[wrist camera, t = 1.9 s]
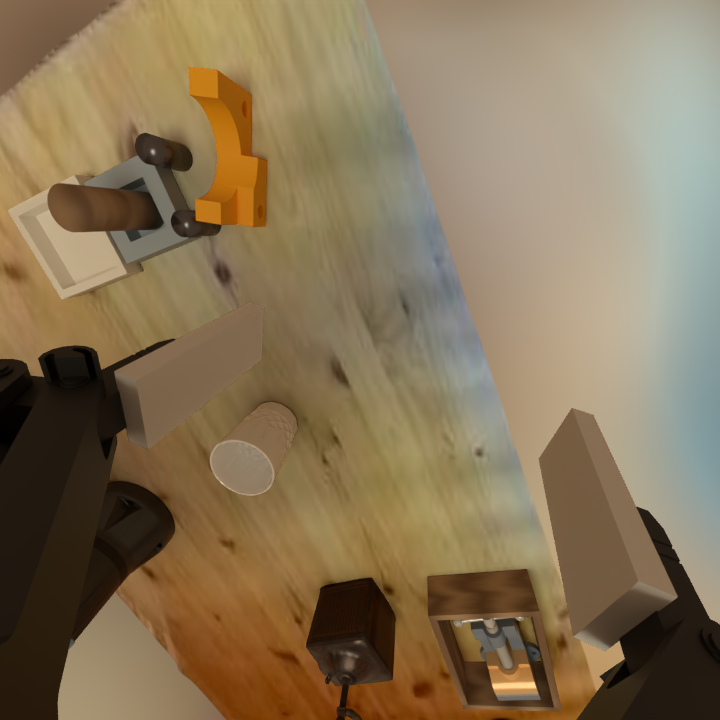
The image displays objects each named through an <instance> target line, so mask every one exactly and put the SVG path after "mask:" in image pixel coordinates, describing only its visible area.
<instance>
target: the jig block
mask: <svg viewBox="0 0 720 720" xmlns="http://www.w3.org/2000/svg"><path fill="white" fill-rule="evenodd" d="M84 184H85V186H93V187H103V188H112V189H122V190H131V191H141V192H149V193H150V194H151V196H152V198H153V200H154V202H155V204H156V206H157V208H158V210H159V212H160V215H161V217H162V219H163V221H164V224H163V225H162V226H161V227H160V228H159V229H156V230H133V231H110V233H111V235H112V237H113V239H114V241H115V242H116V244H117V246H118V248H119V250H120V252H121V254H122V256H123V257H124V259H125V261H126V263H127V264H128V263H135V262H142V261H145V260H147V259H150V258H152V257H155V256H157V255H160V254H162V253H165V252H167V251H169V250H172V249H174V248H177V247H179V246H182V245H184V244H187V243H189V242H192V241H194V240H196V239H199V238H201V236H199V237H181V236H179V235H178V234H176V233H175V231H174V230H173V228H172V225H171V217H172V214H173V213H174V212H175V211H177V210H189V209H188V207H187V204H186V202H185V200H184V198H183V196H182V193H181V191H180V189H179V187H178V185H177V182H176V180H175V178H174V176H173V174H172V171H171V169H168V168H163V167H159V166H154V165H149V164H146V163H144V162H143V161H142V160H141V159H140V158H139V156H138V155H137V156H135V157H133V158H131V159H129V160H127V161H125V162H123V163H121V164H119V165H117V166H116V167H114V168H112V169H110V170H108V171H106V172H104V173H102V174H100V175H98V176H96V177H94V178H92V179H90V180H88V181H86V182H85V183H84Z"/></svg>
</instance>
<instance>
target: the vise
mask: <svg viewBox="0 0 720 720" xmlns="http://www.w3.org/2000/svg"><path fill="white" fill-rule="evenodd" d="M524 619H525V617H511V618H485V619H459V620H453V623H454V625H455V626H456V627H461V626H462V625H463V623H467V622H470V623H471V630H472V632H473V634H474V637H475V639H476V640H478V639H479V640H480V642H481V644H482V647H481V649H480V652H481V657H482V658H483V659H484V660H485V661H487V667H488V669H489V674H490V678H491V682H492V686H493V690H494V692H495V694H496V696H497V698H498V700H499V701H514V700H541V694H540V690H539V686H538V682H537V678H536V674H535V670H534V666H533V662H534V661H535V660H537V659H538V658H539V657H540V652H539V649H538V647H537V646H536V645H535V644H533V643H530V642H526V641H525V640H524V638H523V635H522V633H521V630H520V628H519V625H518V623H517V620H518V621H523V620H524Z"/></svg>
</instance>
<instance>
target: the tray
mask: <svg viewBox="0 0 720 720" xmlns="http://www.w3.org/2000/svg"><path fill="white" fill-rule="evenodd" d="M92 178H94V177H87V176H80V175H73V176H71V177H69V178H67V179H66V180H64V181H62V182H60V183H64V184H74V185H84V186H85V184H84V183H85V182H86V181H88V180H90V179H92ZM50 188H51V187H50ZM50 188H49V189H47V190H45V191H43V192H41V193H39V194H37V195H35V196H33V197H32V198H30V199H28V200H26V201H24V202H22V203H20V204H18V205H16V206H15V207H13V208H11V209H9V210H7V211H8V212H9V214H10V216H11V217H12V219H13V221H14V222H15V224H16V226H17V227H18V229H19V230H20V232H21V234H22V235H23V237H24V239H25V240H26V242H27V243H28V245H29V247H30V248H31V250H32V252H33V253H34V255H35V257H36V258H37V260H38V261H39V263H40V265H41V266H42V268H43V270H44V271H45V273H46V274H47V276H48V278H49V279H50V281H51V283H52V284H53V286H54V288H55V289H56V291H57V292H58V294H59V296H60V297H61V299H62V300H63V299H67V298H72V297H77V296H81V295H83V294H86V293H88V292H91V291H93V290H96V289H98V288H101V287H103V286H106V285H108V284H111V283H114V282H116V281H119V280H121V279H124V278H126V277H129V276H131V275H134V274H136V273H139V272H141V271H144V270H143V268H142V266H141V264H140V263H139V262H135V263H128V264H127V263H126V261H125V259H124V257H123V256H122V254H121V252H120V250H119V248H118V246H117V244H116V242H115V241H114V239H113V237H112V235H111V233H110V231H103V232H70V231H67V230H65V229H63V228H62V227H61V226H60V225H59V224H58V223H57V222H56V221H55V220H54V218H53V217H52V215H51V213H50V210H49V207H48V202H47V197H48V192H49V190H50Z"/></svg>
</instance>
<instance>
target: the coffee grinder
mask: <svg viewBox="0 0 720 720" xmlns="http://www.w3.org/2000/svg"><path fill="white" fill-rule="evenodd" d="M395 621H396V618H395V615H394V612H393V610H392V608H391V606H390V605H389V603H388V601H387V600H386V598H385V597H384V595H383V593H382V592H381V591H380V589H379V588H378V586H377V585H376V583H375V582H374V581H373V579H372V578H366V579H358V580H353V581H347V582H342V583H337V584H331V585H326V586H324V587H322V588H321V589H320V595H319V599H318V602H317V606H316V610H315V613H314V617H313V621H312V624H311V628H310V632H309V636H308V639H307V643H306V648H307V649H308V650H309V652H310V653H311V655H312V656H313V657H314V659H315V660H316V661H317V663H318V666H319V668H320V670H321V671H322V673H323V674H324V675H325V676H327V677H326V679H325V682H326V684H329V682H330V681H332V683H333V684H334V685H335V686H342V693H341V700H340V706H339V707H337V716H338V717H337V719H336V720H345V717H346V716H348V717H350V718H352V719H353V720H362V718H361V717H360V715H358V714H357V713H356V712H355V711H354V710H353V709H350V708H346V703H347V695H348V689H349V685H356V684H365V683H375V682H382V681H389V680H392V679H393V666H394V645H395Z"/></svg>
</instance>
